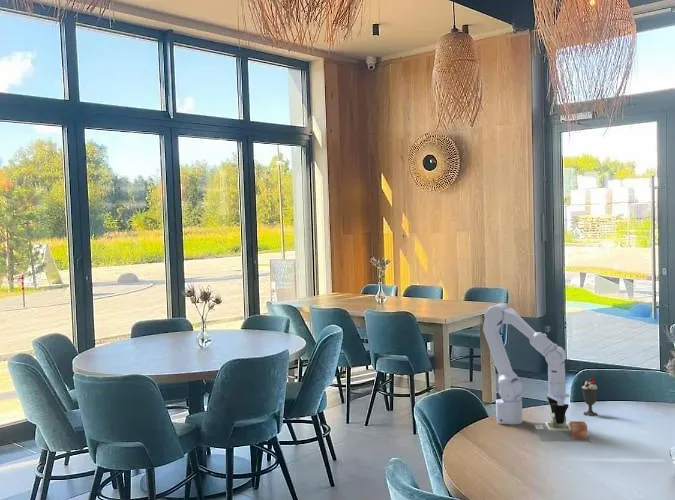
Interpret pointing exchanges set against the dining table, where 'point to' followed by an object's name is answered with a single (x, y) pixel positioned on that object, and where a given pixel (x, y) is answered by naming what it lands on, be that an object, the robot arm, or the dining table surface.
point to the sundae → (589, 395)
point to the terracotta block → (578, 429)
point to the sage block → (554, 424)
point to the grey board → (556, 433)
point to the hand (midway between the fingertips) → (557, 420)
